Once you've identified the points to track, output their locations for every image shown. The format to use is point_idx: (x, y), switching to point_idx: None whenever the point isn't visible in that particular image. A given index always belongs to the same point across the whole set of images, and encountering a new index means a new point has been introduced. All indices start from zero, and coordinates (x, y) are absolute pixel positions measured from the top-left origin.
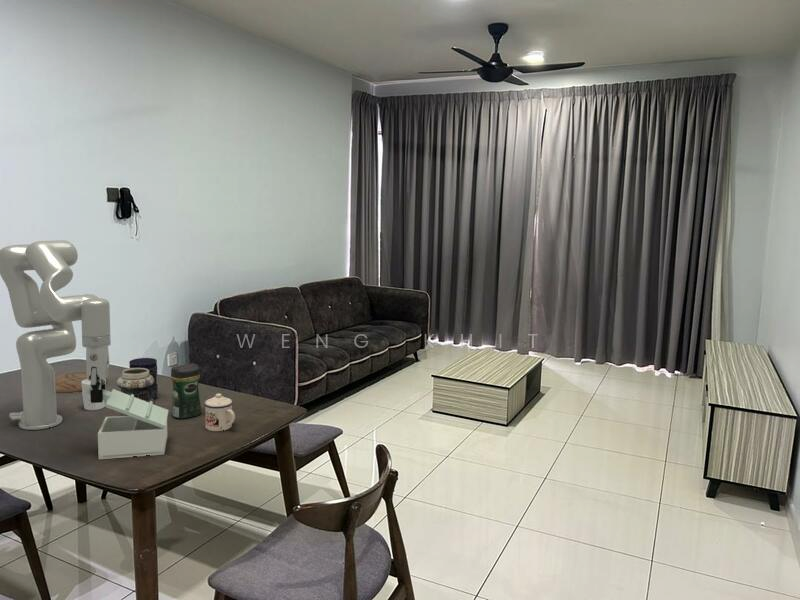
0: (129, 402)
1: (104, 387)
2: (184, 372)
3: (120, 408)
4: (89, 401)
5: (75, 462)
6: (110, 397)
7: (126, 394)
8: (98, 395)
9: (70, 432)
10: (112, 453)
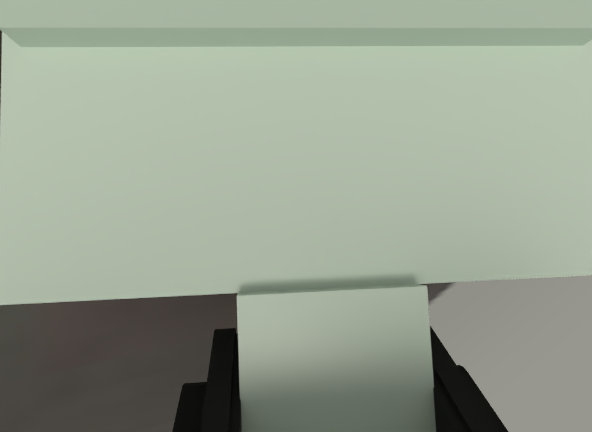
0: (385, 12)
1: (240, 428)
2: None
3: (586, 96)
4: None
5: None
6: (370, 265)
7: (16, 104)
8: (491, 408)
9: (45, 353)
10: None
